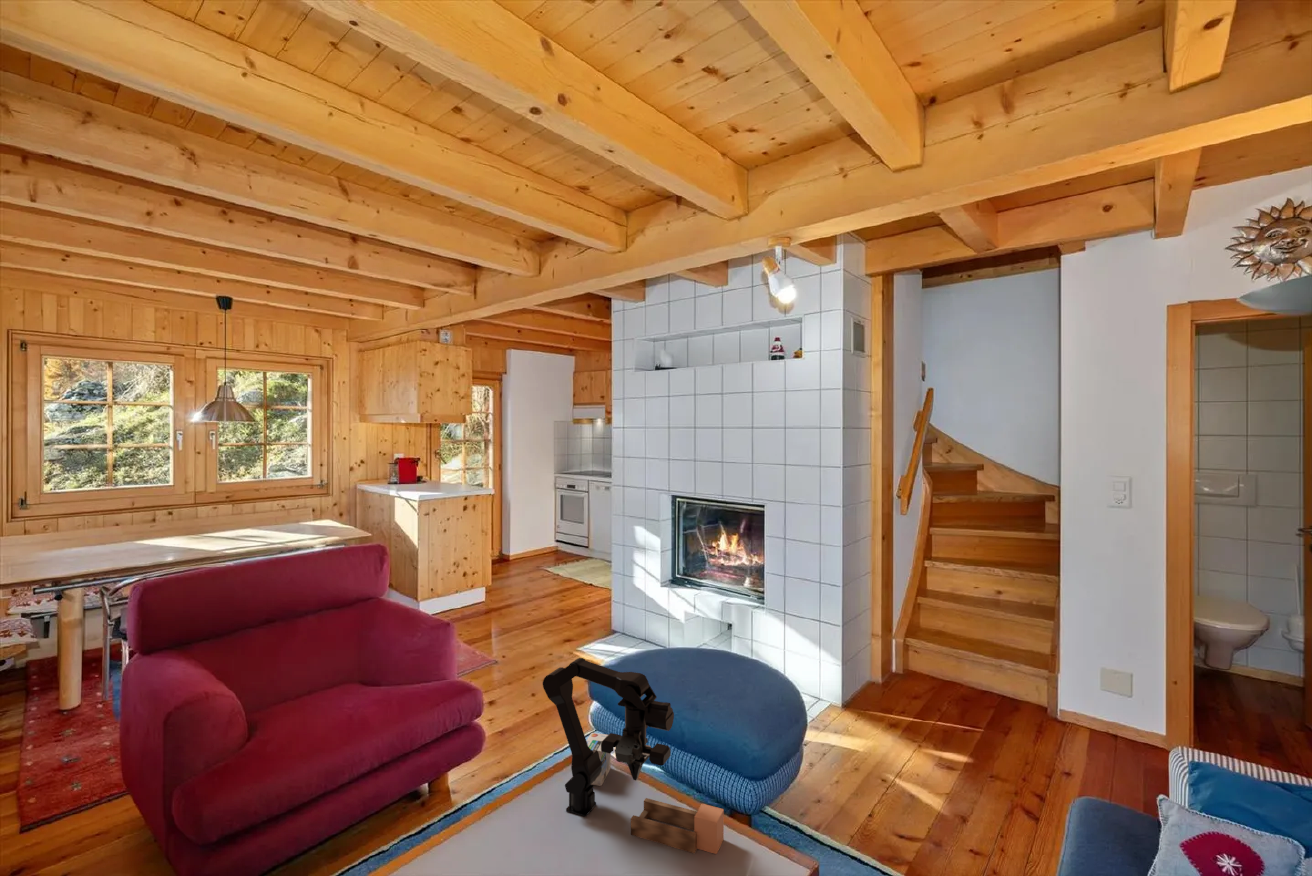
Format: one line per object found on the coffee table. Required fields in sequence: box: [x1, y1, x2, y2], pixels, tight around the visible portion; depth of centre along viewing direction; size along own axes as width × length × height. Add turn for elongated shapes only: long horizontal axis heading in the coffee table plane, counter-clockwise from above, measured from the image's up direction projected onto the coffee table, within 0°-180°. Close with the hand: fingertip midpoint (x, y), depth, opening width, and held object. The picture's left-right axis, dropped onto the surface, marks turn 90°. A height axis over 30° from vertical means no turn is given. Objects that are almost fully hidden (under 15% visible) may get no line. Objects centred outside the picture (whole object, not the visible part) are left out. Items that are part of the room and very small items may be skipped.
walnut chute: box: [630, 797, 698, 855], centre depth 160 cm, size 18×10×4 cm, turn 67°
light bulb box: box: [586, 732, 612, 787], centre depth 187 cm, size 11×7×11 cm, turn 168°
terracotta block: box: [693, 803, 725, 855], centre depth 156 cm, size 6×6×8 cm
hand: (635, 779), depth 164 cm, fingers closed
